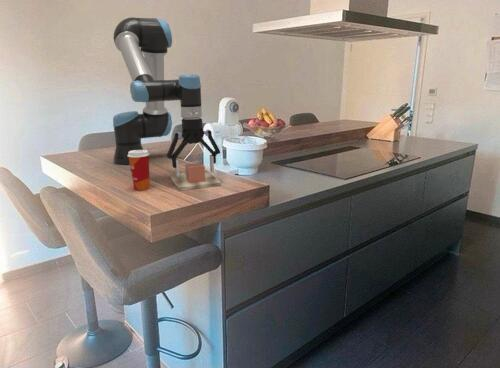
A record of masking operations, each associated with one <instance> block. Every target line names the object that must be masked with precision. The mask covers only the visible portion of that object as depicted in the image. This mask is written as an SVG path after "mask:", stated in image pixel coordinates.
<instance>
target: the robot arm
mask: <svg viewBox="0 0 500 368" xmlns="http://www.w3.org/2000/svg"><path fill="white" fill-rule="evenodd" d="M171 30H172V29H171V27H170V25H169V23H168V22H167V20H166V19H163V18H161V19H160V18H156V17H155V18H154V17H151V18H150V17H133V16H131V17H127V18H125V19H123V20H121V21H120V22H119V23H118V24H117V25H116V26H115V28H114V31H113V41H114V44H115V47H116V49H117V50H118V51H119V52H120V53H121V56H122V58H123V60H124V62H125V66H126V68H127V71H128V73H129V75H130V78H131V80H132V81H131V82H130V86H129V91H130V95H131V99H132V101H134V102H135V103H145V106H144V108H143V109H142V113H139V112H138V111H136V110H132V111H126V112H121V113H117V114H115V115H113V117H112V122H113V124H112V126H113V132H114V140H115V149H114V150H115V151H114V154H113V163H114V164H116V165H130V162H129V157H128V152H129V151H132V150H142V151H143V150H144V148H143V145H142V139H148V138H149V139H151V138H161V137H166V136H168V135H169V134H170V132H171V131H172V125H173V121H172V115H171V113H170V112H168V108H166V107H165V102H169V101H170V102H172V101H179V102H180V116H181V118H182V119H181V132H177V131H174V132H173V139H172V140H171V144H170V145H169V148H168V151H167V153H166V157H167V158H168V159H169V160H170V159H171V163H172V164H171V165H172V168H174V169H175V174H176V176H177V177H179V173H180V169H179V168H180V167H179V166H180V165H179V159H178V156H180V154H181V153H182V151H183V150H184V148H185V147H186V146H187V145H188V144H190V145H191V144H199V143H200V144H201V145H203V147H204V148H205V149H206V150H207V152H209V153H210V154H209V172H210V173H211V174H214V173H215V164H216V163H217V155H219V154H221V150H220V148H219V146H218V145H217V143H216V141H215V139H214V137H213V135H212V130H211V129H206V130H204V129H203V128H204V127H203V125H204V124H203V119H202V117H203V112H202V111H203V110H202V90H201V89H202V87H201V86H202V84H201V78H200V76H199V74H180V75H178V79H167V80H166V79H165V55H167V54H168V49H169V48H171V47H172V46H173V35H172V31H171ZM204 136H206V137H207V139H208V140H209V142H210V143H211V146H212V147H210V145H209V144H208V143H207V142H206V141H205V140H204V138H203V137H204ZM181 137H182V138H183V139H182V141H181V143H180V144H179V145H178V146H177V143H178V141H179V139H181ZM176 147H177V148H176ZM175 148H176V150H175ZM212 148H213V149H212Z"/></svg>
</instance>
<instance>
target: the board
mask: <svg viewBox="0 0 500 368" xmlns="http://www.w3.org/2000/svg"><path fill="white" fill-rule="evenodd" d="M168 178H169V180H170V181H171V182H172V183H173V185H174V186H175V188H176V189H177V190H178V192H180V191H187V190H197V189H204V188H209V187H210V188H211V187H218V186H219V187H220V186H222V182H221V181H220V180H219V179H218V178H216V177H215V176H214V175H213V173H212V172H210V171H208V169H205V181H204V182H196V183H189V182H188V181H187V180H186V171H185V172H179V177H177V176H176V173H169V174H168Z"/></svg>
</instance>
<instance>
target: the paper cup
mask: <svg viewBox="0 0 500 368" xmlns="http://www.w3.org/2000/svg"><path fill="white" fill-rule="evenodd" d="M149 156H150V153H149V151H148V150H147V149H143V151H142V150H132V151H129V152H128V157H129V162H130V164H129V166H130V167H129V168H130V173H131V179H132V184H133V189H134V190H135V191H145V190H149V189H150V187H151V186H150V185H151V183H150V182H151V181H150V180H151V179H150V160H149Z"/></svg>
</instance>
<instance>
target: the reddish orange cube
mask: <svg viewBox="0 0 500 368" xmlns="http://www.w3.org/2000/svg"><path fill="white" fill-rule="evenodd" d="M184 166H185V167H184V168H185V172H186V180H187V181H188V182H189V183H196V182H204V181H205V170H206V167H205V165H204V164H203V163H202V162H195V163H194V162H192V163H185V165H184Z"/></svg>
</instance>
